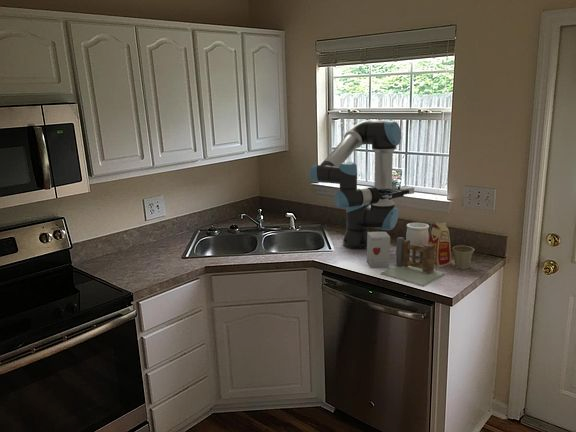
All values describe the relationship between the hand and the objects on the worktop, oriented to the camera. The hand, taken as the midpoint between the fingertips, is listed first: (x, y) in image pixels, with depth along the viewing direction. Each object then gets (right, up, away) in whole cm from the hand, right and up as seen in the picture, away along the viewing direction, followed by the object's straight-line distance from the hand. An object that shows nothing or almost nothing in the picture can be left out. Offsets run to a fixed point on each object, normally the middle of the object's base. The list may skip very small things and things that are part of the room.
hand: (413, 190), depth 220 cm
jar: (+6, -31, +16) cm, 35 cm away
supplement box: (-16, -35, +3) cm, 38 cm away
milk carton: (+13, -34, +4) cm, 36 cm away
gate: (0, -35, -7) cm, 36 cm away
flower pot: (+22, -35, -2) cm, 41 cm away
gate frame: (-3, -38, -10) cm, 39 cm away
